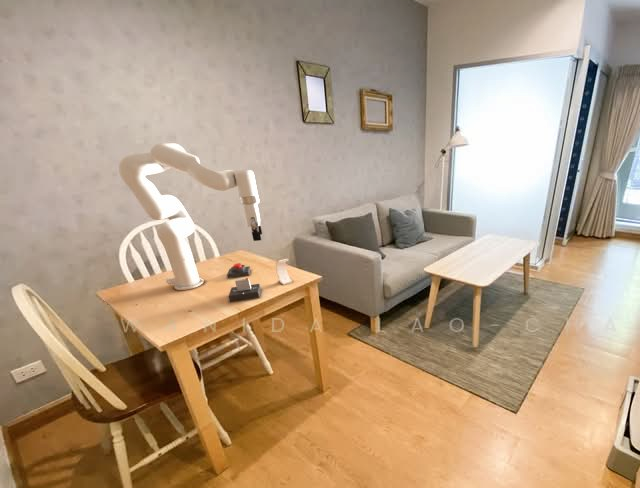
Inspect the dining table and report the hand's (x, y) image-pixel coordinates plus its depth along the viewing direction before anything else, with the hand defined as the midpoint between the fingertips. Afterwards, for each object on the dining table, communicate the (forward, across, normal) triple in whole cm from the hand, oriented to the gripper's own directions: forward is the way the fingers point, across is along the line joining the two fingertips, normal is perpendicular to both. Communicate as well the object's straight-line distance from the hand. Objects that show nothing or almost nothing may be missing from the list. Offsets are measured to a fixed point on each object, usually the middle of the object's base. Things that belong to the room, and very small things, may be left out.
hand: (258, 237), depth 151 cm
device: (+23, +11, -9) cm, 27 cm away
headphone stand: (+23, +1, +8) cm, 25 cm away
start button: (+19, -17, -14) cm, 30 cm away
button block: (+23, -17, -14) cm, 32 cm away
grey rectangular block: (+20, +11, -9) cm, 25 cm away
